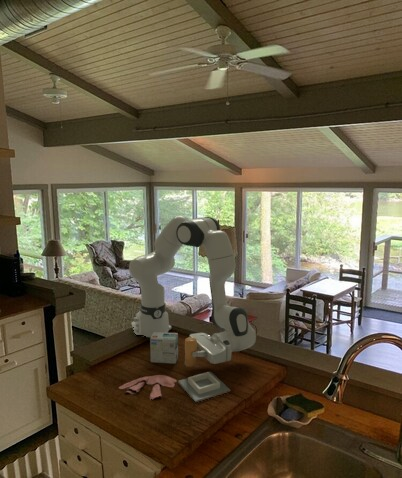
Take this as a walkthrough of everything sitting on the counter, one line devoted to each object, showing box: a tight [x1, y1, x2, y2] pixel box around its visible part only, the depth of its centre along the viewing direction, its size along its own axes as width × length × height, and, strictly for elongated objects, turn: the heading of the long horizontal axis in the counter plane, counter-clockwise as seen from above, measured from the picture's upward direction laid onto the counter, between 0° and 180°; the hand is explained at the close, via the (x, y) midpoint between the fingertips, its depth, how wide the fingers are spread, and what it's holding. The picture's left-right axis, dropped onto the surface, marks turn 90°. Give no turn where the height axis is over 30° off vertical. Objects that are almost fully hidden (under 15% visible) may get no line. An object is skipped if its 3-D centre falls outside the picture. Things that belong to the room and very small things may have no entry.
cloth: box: [118, 374, 178, 400], centre depth 138 cm, size 20×22×2 cm
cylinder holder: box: [177, 371, 231, 403], centre depth 139 cm, size 14×14×3 cm
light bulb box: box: [149, 332, 179, 365], centre depth 158 cm, size 11×7×11 cm, turn 84°
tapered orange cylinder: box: [184, 336, 197, 368], centre depth 147 cm, size 4×4×10 cm
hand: (188, 351), depth 147 cm, fingers closed on tapered orange cylinder, 4 cm apart
